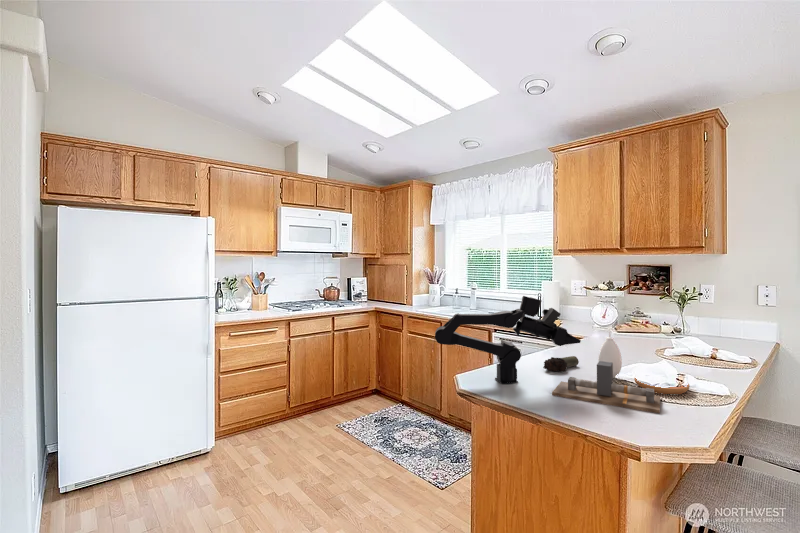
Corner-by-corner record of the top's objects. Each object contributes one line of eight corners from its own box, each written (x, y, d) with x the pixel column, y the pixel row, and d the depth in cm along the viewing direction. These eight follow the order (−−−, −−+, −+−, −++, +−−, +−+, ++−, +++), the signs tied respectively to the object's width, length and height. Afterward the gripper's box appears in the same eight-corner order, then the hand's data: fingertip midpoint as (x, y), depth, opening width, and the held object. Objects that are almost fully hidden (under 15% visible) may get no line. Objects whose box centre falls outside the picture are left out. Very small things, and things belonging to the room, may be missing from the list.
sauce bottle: (624, 377, 150) (623, 330, 150) (618, 382, 144) (618, 333, 144) (602, 373, 155) (601, 328, 155) (595, 378, 150) (595, 330, 150)
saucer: (670, 400, 126) (669, 390, 126) (624, 386, 141) (624, 377, 141) (700, 393, 133) (700, 384, 132) (653, 380, 147) (653, 372, 147)
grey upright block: (596, 394, 128) (596, 364, 127) (599, 389, 132) (599, 361, 132) (610, 396, 125) (610, 366, 125) (612, 391, 130) (612, 362, 130)
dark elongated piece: (568, 364, 170) (568, 351, 170) (582, 368, 165) (583, 355, 165) (540, 370, 161) (541, 357, 161) (554, 374, 156) (555, 360, 156)
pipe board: (551, 395, 131) (551, 380, 131) (561, 384, 143) (561, 370, 143) (659, 413, 115) (659, 397, 114) (660, 399, 126) (660, 384, 126)
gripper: (546, 308, 136) (592, 321, 135) (534, 303, 155) (573, 314, 153) (537, 339, 137) (582, 352, 135) (526, 330, 155) (565, 341, 154)
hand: (575, 338), depth 144 cm, fingers open, 9 cm apart
